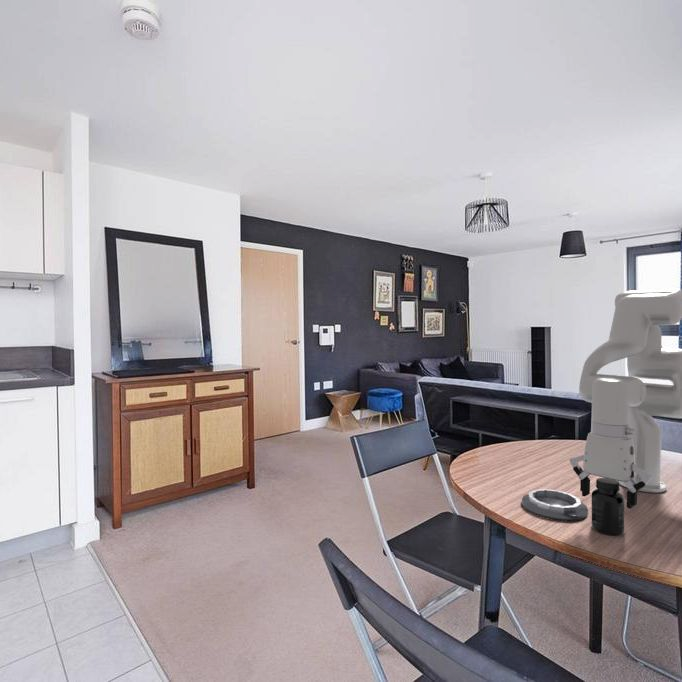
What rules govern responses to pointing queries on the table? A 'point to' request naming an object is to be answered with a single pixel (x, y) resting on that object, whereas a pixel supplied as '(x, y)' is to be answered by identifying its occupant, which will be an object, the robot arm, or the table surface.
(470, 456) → the table surface
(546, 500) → the rosette plate
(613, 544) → the table surface
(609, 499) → the supplement bottle
